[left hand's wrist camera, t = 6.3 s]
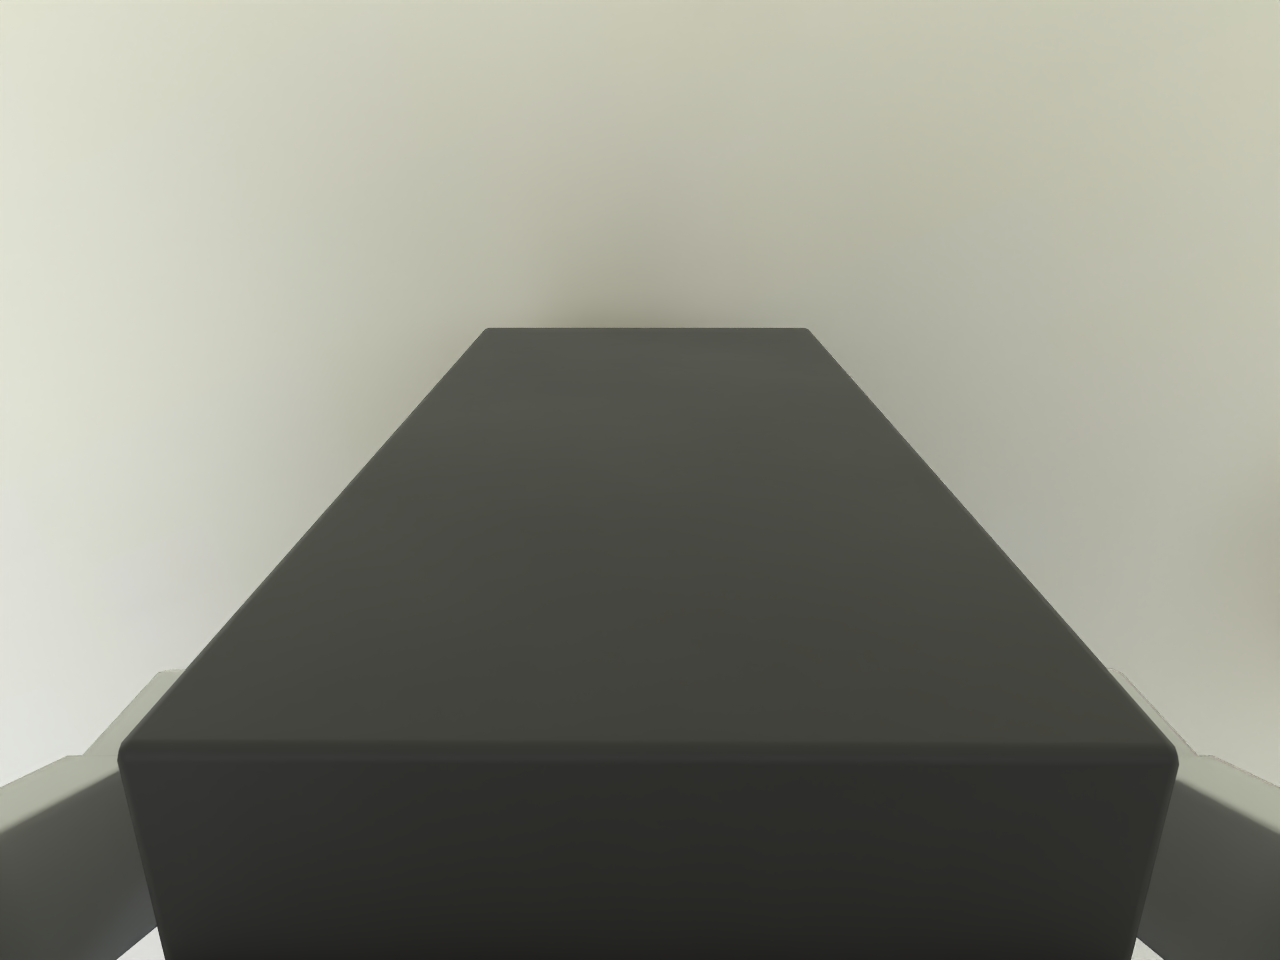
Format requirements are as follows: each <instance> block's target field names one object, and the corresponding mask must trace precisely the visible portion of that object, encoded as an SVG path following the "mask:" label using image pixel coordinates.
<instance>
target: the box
mask: <svg viewBox="0 0 1280 960" xmlns="http://www.w3.org/2000/svg"><path fill="white" fill-rule="evenodd" d="M117 762H118V767H119V771H120V775H121V779H122V783H123V787H124V791H125V795H126V800H127V804H128V808H129V812H130V816H131V820H132V824H133V828H134V833H135V837H136V841H137V845H138V849H139V853H140V857H141V861H142V866H143V870H144V874H145V878H146V882H147V886H148V890H149V894H150V899H151V903H152V907H153V911H154V915H155V919H156V923H157V927H158V932H159V936H160V940H161V944H162V948H163V952H164V956H165V960H1131V957H1132V953H1133V949H1134V945H1135V941H1136V937H1137V933H1138V929H1139V925H1140V921H1141V917H1142V913H1143V909H1144V905H1145V901H1146V897H1147V893H1148V889H1149V885H1150V881H1151V877H1152V872H1153V868H1154V864H1155V860H1156V856H1157V852H1158V848H1159V844H1160V840H1161V836H1162V832H1163V828H1164V824H1165V820H1166V816H1167V812H1168V808H1169V804H1170V800H1171V796H1172V792H1173V788H1174V784H1175V780H1176V776H1177V772H1178V768H1179V759H1178V754H1177V751H1176V748H1175V746H1174V745H1173V744H1172V742H1171V741H1170V740H1169V739H1168V738H1167V737H1166V736H1165V735H1164V733H1163V732H1162V731H1161V730H1160V729H1159V728H1158V727H1157V725H1156V724H1155V723H1154V722H1153V721H1152V720H1151V719H1150V717H1149V716H1148V715H1147V714H1146V713H1145V712H1144V711H1143V710H1142V708H1141V707H1140V706H1139V705H1138V704H1137V703H1136V702H1135V700H1134V699H1133V698H1132V697H1131V696H1130V695H1129V694H1128V692H1127V691H1126V690H1125V689H1124V688H1123V687H1122V686H1121V684H1120V683H1119V682H1118V681H1117V680H1116V679H1115V678H1114V677H1113V675H1112V674H1111V673H1110V672H1109V671H1108V670H1107V669H1106V667H1105V666H1104V665H1103V664H1102V663H1101V662H1100V661H1099V659H1098V658H1097V657H1096V656H1095V655H1094V654H1093V653H1092V652H1091V650H1090V649H1089V648H1088V647H1087V646H1086V645H1085V644H1084V642H1083V641H1082V640H1081V639H1080V638H1079V637H1078V636H1077V634H1076V633H1075V632H1074V631H1073V630H1072V629H1071V628H1070V627H1069V625H1068V624H1067V623H1066V622H1065V621H1064V620H1063V619H1062V617H1061V616H1060V615H1059V614H1058V613H1057V612H1056V611H1055V609H1054V608H1053V607H1052V606H1051V605H1050V604H1049V603H1048V601H1047V600H1046V599H1045V598H1044V597H1043V596H1042V595H1041V594H1040V592H1039V591H1038V590H1037V589H1036V588H1035V587H1034V586H1033V584H1032V583H1031V582H1030V581H1029V580H1028V579H1027V578H1026V576H1025V575H1024V574H1023V573H1022V572H1021V571H1020V570H1019V569H1018V567H1017V566H1016V565H1015V564H1014V563H1013V562H1012V561H1011V559H1010V558H1009V557H1008V556H1007V555H1006V554H1005V553H1004V551H1003V550H1002V549H1001V548H1000V547H999V546H998V545H997V544H996V542H995V541H994V540H993V539H992V538H991V537H990V536H989V534H988V533H987V532H986V531H985V530H984V529H983V528H982V526H981V525H980V524H979V523H978V522H977V521H976V520H975V518H974V517H973V516H972V515H971V514H970V513H969V512H968V511H967V509H966V508H965V507H964V506H963V505H962V504H961V503H960V501H959V500H958V499H957V498H956V497H955V496H954V495H953V493H952V492H951V491H950V490H949V489H948V488H947V487H946V486H945V484H944V483H943V482H942V481H941V480H940V479H939V478H938V476H937V475H936V474H935V473H934V472H933V471H932V470H931V468H930V467H929V466H928V465H927V464H926V463H925V462H924V461H923V459H922V458H921V457H920V456H919V455H918V454H917V453H916V451H915V450H914V449H913V448H912V447H911V446H910V445H909V443H908V442H907V441H906V440H905V439H904V438H903V437H902V436H901V434H900V433H899V432H898V431H897V430H896V429H895V428H894V426H893V425H892V424H891V423H890V422H889V421H888V420H887V418H886V417H885V416H884V415H883V414H882V413H881V412H880V410H879V409H878V408H877V407H876V406H875V405H874V404H873V403H872V401H871V400H870V399H869V398H868V397H867V396H866V395H865V393H864V392H863V391H862V390H861V389H860V388H859V387H858V385H857V384H856V383H855V382H854V381H853V380H852V379H851V378H850V376H849V375H848V374H847V373H846V372H845V371H844V370H843V368H842V367H841V366H840V365H839V364H838V363H837V362H836V360H835V359H834V358H833V357H832V356H831V355H830V354H829V353H828V351H827V350H826V349H825V348H824V347H823V346H822V345H821V343H820V342H819V341H818V340H817V339H816V338H815V337H814V335H813V334H812V333H811V332H810V331H809V330H808V329H806V328H488V329H485V330H484V331H483V333H482V334H481V335H480V336H479V337H478V338H477V339H476V340H475V342H474V343H473V344H472V345H471V346H470V347H469V348H468V350H467V351H466V352H465V353H464V354H463V355H462V356H461V358H460V359H459V360H458V361H457V362H456V363H455V364H454V365H453V367H452V368H451V369H450V370H449V371H448V372H447V373H446V375H445V376H444V377H443V378H442V379H441V380H440V381H439V383H438V384H437V385H436V386H435V387H434V388H433V389H432V390H431V392H430V393H429V394H428V395H427V396H426V397H425V398H424V400H423V401H422V402H421V403H420V404H419V405H418V406H417V407H416V409H415V410H414V411H413V412H412V413H411V414H410V415H409V417H408V418H407V419H406V420H405V421H404V422H403V423H402V425H401V426H400V427H399V428H398V429H397V430H396V431H395V432H394V434H393V435H392V436H391V437H390V438H389V439H388V440H387V442H386V443H385V444H384V445H383V446H382V447H381V448H380V450H379V451H378V452H377V453H376V454H375V455H374V456H373V457H372V459H371V460H370V461H369V462H368V463H367V464H366V465H365V467H364V468H363V469H362V470H361V471H360V472H359V473H358V474H357V476H356V477H355V478H354V479H353V480H352V481H351V482H350V484H349V485H348V486H347V487H346V488H345V489H344V490H343V492H342V493H341V494H340V495H339V496H338V497H337V498H336V499H335V501H334V502H333V503H332V504H331V505H330V506H329V507H328V509H327V510H326V511H325V512H324V513H323V514H322V515H321V517H320V518H319V519H318V520H317V521H316V522H315V523H314V524H313V526H312V527H311V528H310V529H309V530H308V531H307V532H306V534H305V535H304V536H303V537H302V538H301V539H300V540H299V541H298V543H297V544H296V545H295V546H294V547H293V548H292V549H291V551H290V552H289V553H288V554H287V555H286V556H285V557H284V559H283V560H282V561H281V562H280V563H279V564H278V565H277V566H276V568H275V569H274V570H273V571H272V572H271V573H270V574H269V576H268V577H267V578H266V579H265V580H264V581H263V582H262V584H261V585H260V586H259V587H258V588H257V589H256V590H255V591H254V593H253V594H252V595H251V596H250V597H249V598H248V599H247V601H246V602H245V603H244V604H243V605H242V606H241V607H240V608H239V610H238V611H237V612H236V613H235V614H234V615H233V616H232V618H231V619H230V620H229V621H228V622H227V623H226V624H225V626H224V627H223V628H222V629H221V630H220V631H219V632H218V633H217V635H216V636H215V637H214V638H213V639H212V640H211V641H210V643H209V644H208V645H207V646H206V647H205V648H204V649H203V651H202V652H201V653H200V654H199V655H198V656H197V657H196V658H195V660H194V661H193V662H192V663H191V664H190V665H189V666H188V668H187V669H186V670H185V671H184V672H183V673H182V674H181V675H180V677H179V678H178V679H177V680H176V681H175V682H174V683H173V685H172V686H171V687H170V688H169V689H168V690H167V691H166V693H165V694H164V695H163V696H162V697H161V698H160V699H159V700H158V702H157V703H156V704H155V705H154V706H153V707H152V708H151V710H150V711H149V712H148V713H147V714H146V715H145V716H144V718H143V719H142V720H141V721H140V722H139V723H138V724H137V725H136V727H135V728H134V729H133V730H132V731H131V732H130V733H129V735H128V736H127V737H126V738H125V739H124V740H123V741H122V742H121V745H120V748H119V751H118V758H117Z"/></svg>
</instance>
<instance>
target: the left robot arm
mask: <svg viewBox="0 0 1280 960" xmlns="http://www.w3.org/2000/svg"><path fill="white" fill-rule="evenodd" d="M185 670H186V669H182V670H166V671H162V672H159V673H158V674H157V675H156V676H155V677H154V678H153V679H152V680H151V681H150V682H149V683H148V684H147V685H146V687H145V688H144V689H143V690H142V691H141V692H140V693H139V694H138V695H137V696H136V697H135V699H134V700H133V701H132V702H131V703H130V704H129V705H128V706H127V707H126V708H125V709H124V711H123V712H122V713H121V714H120V715H119V716H118V717H117V718H116V719H115V720H114V721H113V723H112V724H111V725H110V726H109V727H108V728H107V729H106V730H105V731H104V732H103V733H102V735H101V736H100V737H99V738H98V739H97V740H96V741H95V742H94V743H93V744H92V745H91V747H90V748H89V749H88V750H87V751H86V752H85V753H84V754H83V755H82V756H66V757H64V758H62V759H60V760H57V761H55V762H53V763H51V764H49V765H47V766H45V767H43V768H41V769H38V770H36V771H34V772H32V773H30V774H28V775H26V776H24V777H22V778H19V779H17V780H15V781H13V782H11V783H9V784H7V785H5V786H3V787H1V788H0V960H117V959H118V958H119V957H120V956H121V955H123V954H124V953H125V952H126V951H127V950H129V949H130V948H131V947H132V946H134V945H135V944H136V943H137V942H138V941H140V940H141V939H142V938H143V937H145V936H146V935H147V934H148V933H149V932H151V931H152V930H153V929H154V928H155V927H157V923H156V919H155V915H154V911H153V907H152V903H151V899H150V894H149V890H148V886H147V882H146V878H145V874H144V870H143V866H142V861H141V857H140V853H139V849H138V845H137V841H136V837H135V833H134V828H133V824H132V820H131V816H130V812H129V808H128V804H127V800H126V795H125V791H124V787H123V783H122V779H121V775H120V771H119V767H118V762H117V758H118V751H119V748H120V745H121V742H122V741H123V740H124V739H125V738H126V737H127V736H128V735H129V733H130V732H131V731H132V730H133V729H134V728H135V727H136V725H137V724H138V723H139V722H140V721H141V720H142V719H143V718H144V716H145V715H146V714H147V713H148V712H149V711H150V710H151V708H152V707H153V706H154V705H155V704H156V703H157V702H158V700H159V699H160V698H161V697H162V696H163V695H164V694H165V693H166V691H167V690H168V689H169V688H170V687H171V686H172V685H173V683H174V682H175V681H176V680H177V679H178V678H179V677H180V675H181V674H182V673H183V672H184V671H185ZM1107 670H1108V671H1109V672H1110V673H1111V674H1112V675H1113V677H1114V678H1115V679H1116V680H1117V681H1118V682H1119V683H1120V684H1121V686H1122V687H1123V688H1124V689H1125V690H1126V691H1127V692H1128V694H1129V695H1130V696H1131V697H1132V698H1133V699H1134V700H1135V702H1136V703H1137V704H1138V705H1139V706H1140V707H1141V708H1142V710H1143V711H1144V712H1145V713H1146V714H1147V715H1148V716H1149V717H1150V719H1151V720H1152V721H1153V722H1154V723H1155V724H1156V725H1157V727H1158V728H1159V729H1160V730H1161V731H1162V732H1163V733H1164V735H1165V736H1166V737H1167V738H1168V739H1169V740H1170V741H1171V742H1172V744H1173V745H1174V746H1175V748H1176V751H1177V754H1178V759H1179V768H1178V772H1177V776H1176V780H1175V784H1174V788H1173V792H1172V796H1171V800H1170V804H1169V808H1168V812H1167V816H1166V820H1165V824H1164V828H1163V832H1162V836H1161V840H1160V844H1159V848H1158V852H1157V856H1156V860H1155V864H1154V868H1153V872H1152V877H1151V881H1150V885H1149V889H1148V893H1147V897H1146V901H1145V905H1144V909H1143V913H1142V917H1141V921H1140V925H1139V929H1138V933H1137V938H1138V939H1140V940H1141V941H1142V942H1143V943H1144V944H1146V945H1147V946H1148V947H1149V948H1151V949H1152V950H1153V951H1154V952H1155V953H1157V954H1158V955H1159V956H1160V957H1161V958H1163V959H1164V960H1280V788H1279V787H1277V786H1275V785H1273V784H1271V783H1269V782H1267V781H1265V780H1263V779H1261V778H1258V777H1256V776H1254V775H1252V774H1250V773H1248V772H1246V771H1244V770H1242V769H1240V768H1237V767H1235V766H1233V765H1231V764H1229V763H1227V762H1225V761H1223V760H1221V759H1218V758H1216V757H1214V756H1198V755H1197V754H1196V753H1195V752H1194V751H1193V750H1192V749H1191V747H1190V746H1189V745H1188V744H1187V743H1186V742H1185V741H1184V740H1183V739H1182V738H1181V737H1180V735H1179V734H1178V733H1177V732H1176V731H1175V730H1174V729H1173V728H1172V727H1171V726H1170V725H1169V723H1168V722H1167V721H1166V720H1165V719H1164V718H1163V717H1162V716H1161V715H1160V714H1159V713H1158V711H1157V710H1156V709H1155V708H1154V707H1153V706H1152V705H1151V704H1150V703H1149V702H1148V701H1147V699H1146V698H1145V697H1144V696H1143V695H1142V694H1141V693H1140V692H1139V691H1138V690H1137V689H1136V687H1135V686H1134V685H1133V684H1132V683H1131V682H1130V681H1129V680H1128V679H1127V678H1126V677H1125V675H1124V674H1123V673H1120V672H1118V671H1116V670H1113V669H1107Z"/></svg>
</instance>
